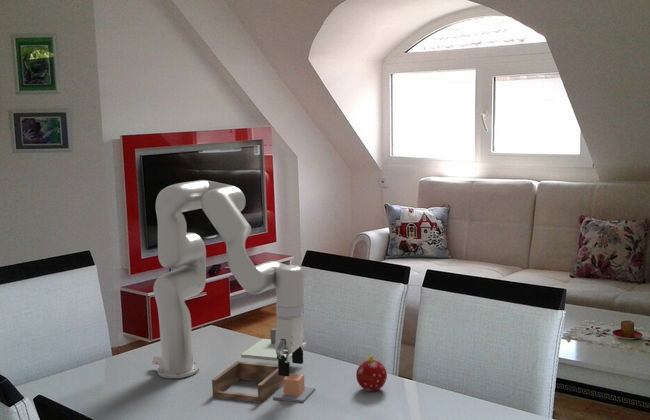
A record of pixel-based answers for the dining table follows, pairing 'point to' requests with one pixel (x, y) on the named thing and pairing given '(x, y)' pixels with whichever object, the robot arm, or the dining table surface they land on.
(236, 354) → the dining table surface
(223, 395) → the board
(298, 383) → the block
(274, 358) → the lid
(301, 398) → the pad
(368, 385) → the christmas ornament
